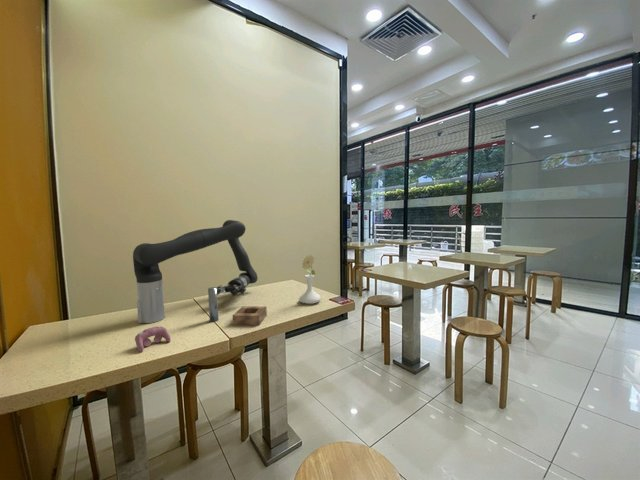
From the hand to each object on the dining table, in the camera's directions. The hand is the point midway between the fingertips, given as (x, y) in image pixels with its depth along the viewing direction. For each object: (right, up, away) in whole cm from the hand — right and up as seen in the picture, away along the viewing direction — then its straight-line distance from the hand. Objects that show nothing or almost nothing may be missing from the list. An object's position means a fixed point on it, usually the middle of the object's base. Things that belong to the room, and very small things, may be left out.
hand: (224, 293), depth 122 cm
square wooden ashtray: (+15, -9, -10) cm, 20 cm away
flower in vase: (+40, -7, +12) cm, 42 cm away
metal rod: (-1, -9, -10) cm, 14 cm away
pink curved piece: (-13, -11, -32) cm, 36 cm away
